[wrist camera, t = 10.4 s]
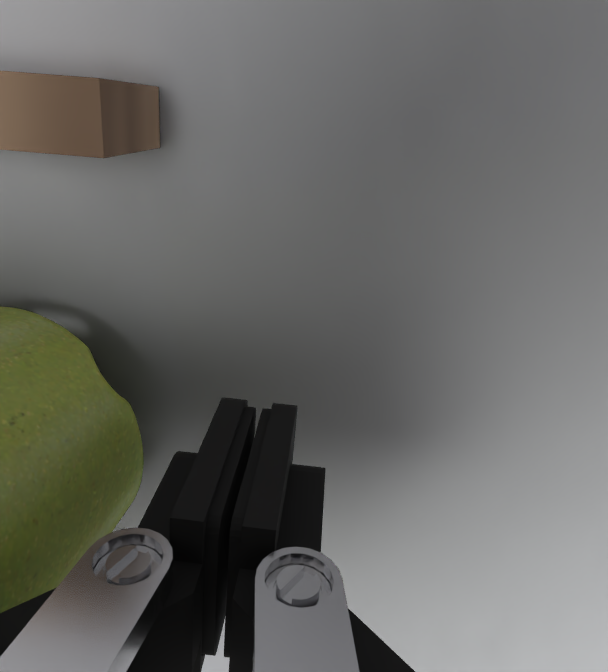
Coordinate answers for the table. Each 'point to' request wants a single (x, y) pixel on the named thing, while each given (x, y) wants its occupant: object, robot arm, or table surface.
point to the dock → (77, 115)
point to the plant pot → (57, 455)
